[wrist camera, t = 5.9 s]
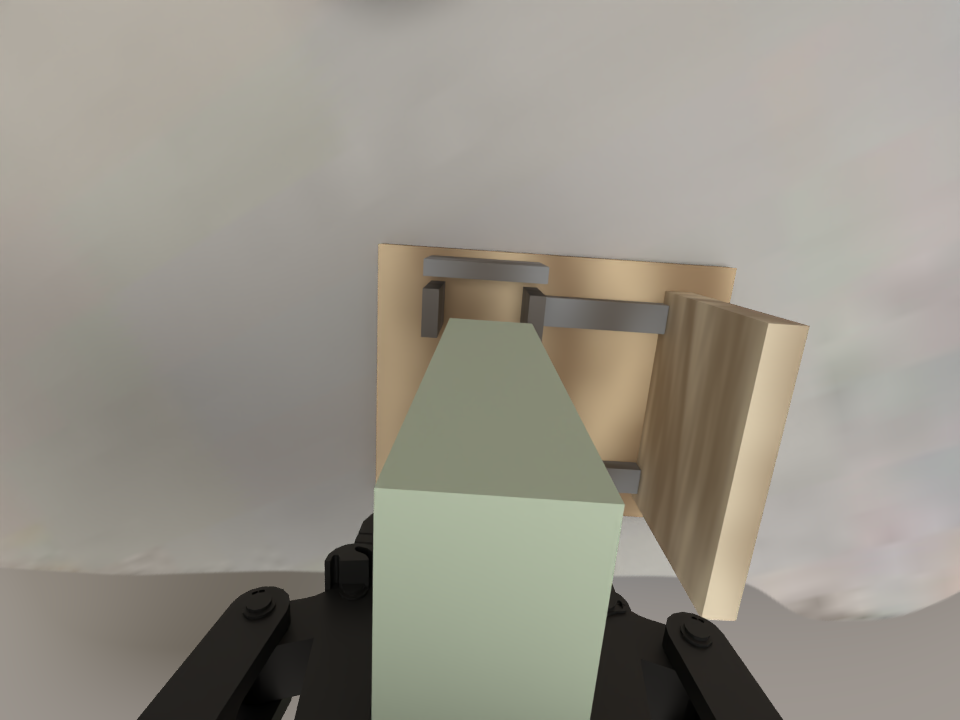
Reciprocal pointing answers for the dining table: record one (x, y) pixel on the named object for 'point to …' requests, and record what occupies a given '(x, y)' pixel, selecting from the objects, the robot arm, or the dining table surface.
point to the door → (491, 540)
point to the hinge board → (622, 383)
